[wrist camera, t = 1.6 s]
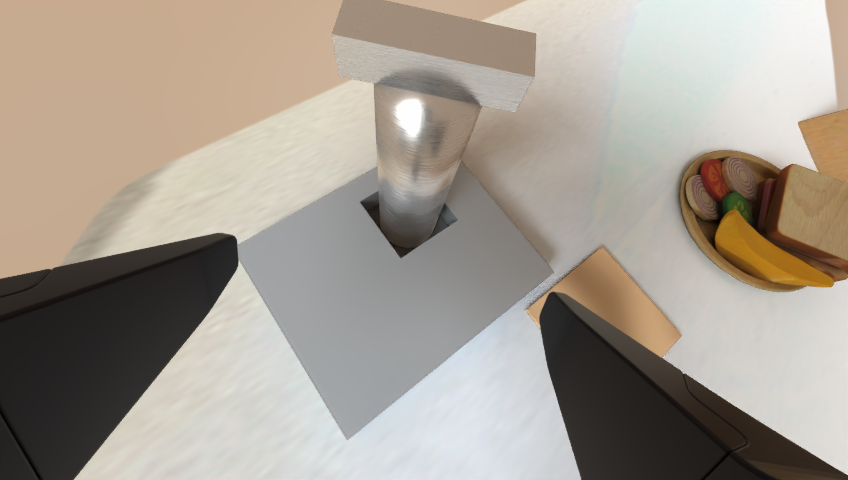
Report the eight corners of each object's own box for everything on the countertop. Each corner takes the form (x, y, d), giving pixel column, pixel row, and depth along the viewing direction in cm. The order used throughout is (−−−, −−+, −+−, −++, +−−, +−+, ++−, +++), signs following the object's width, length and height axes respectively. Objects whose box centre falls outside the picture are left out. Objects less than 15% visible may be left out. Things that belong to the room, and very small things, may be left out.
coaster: (605, 411, 21) (609, 412, 21) (525, 310, 23) (527, 309, 22) (677, 336, 23) (681, 335, 23) (599, 248, 25) (602, 246, 24)
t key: (443, 254, 23) (533, 106, 9) (361, 240, 23) (322, 62, 9) (450, 205, 25) (537, 9, 11) (372, 190, 24) (354, -32, 10)
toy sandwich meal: (698, 133, 30) (752, 96, 26) (833, 219, 29) (915, 195, 24) (647, 229, 26) (701, 205, 22) (801, 335, 25) (892, 332, 20)
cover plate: (351, 431, 19) (347, 440, 17) (245, 257, 22) (232, 248, 20) (540, 278, 23) (554, 271, 22) (434, 148, 26) (437, 132, 24)
